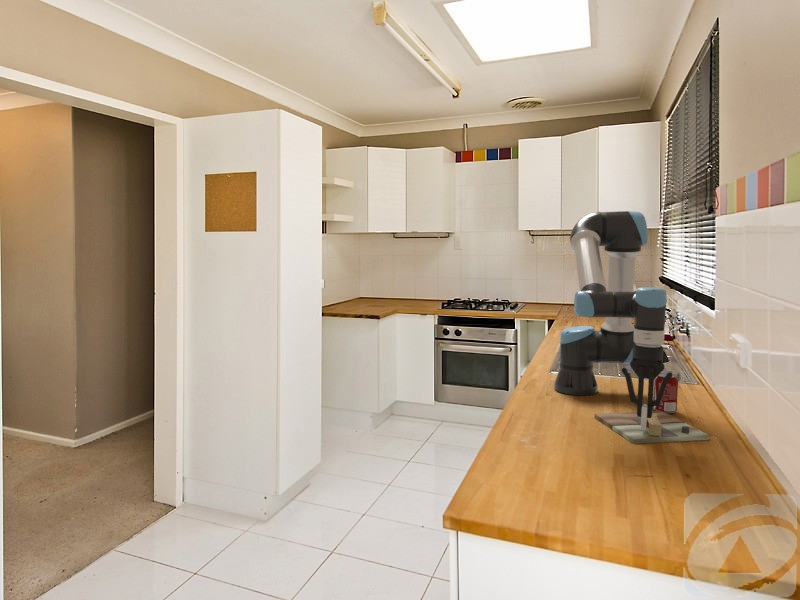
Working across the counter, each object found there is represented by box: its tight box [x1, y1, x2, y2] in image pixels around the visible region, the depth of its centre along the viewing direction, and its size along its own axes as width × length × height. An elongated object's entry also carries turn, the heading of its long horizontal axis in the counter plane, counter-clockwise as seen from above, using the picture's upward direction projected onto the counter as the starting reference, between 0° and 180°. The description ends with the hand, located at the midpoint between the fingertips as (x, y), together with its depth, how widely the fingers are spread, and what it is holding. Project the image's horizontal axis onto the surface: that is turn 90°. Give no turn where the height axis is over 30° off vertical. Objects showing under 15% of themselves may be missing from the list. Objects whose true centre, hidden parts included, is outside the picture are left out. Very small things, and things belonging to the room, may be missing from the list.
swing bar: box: [646, 410, 662, 436], centre depth 150 cm, size 13×4×4 cm, turn 163°
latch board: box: [594, 410, 711, 444], centre depth 154 cm, size 22×22×3 cm
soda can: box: [652, 372, 679, 415], centre depth 169 cm, size 7×7×12 cm
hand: (643, 428), depth 147 cm, fingers closed
